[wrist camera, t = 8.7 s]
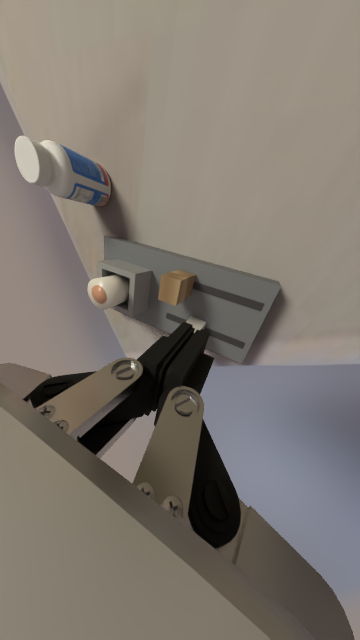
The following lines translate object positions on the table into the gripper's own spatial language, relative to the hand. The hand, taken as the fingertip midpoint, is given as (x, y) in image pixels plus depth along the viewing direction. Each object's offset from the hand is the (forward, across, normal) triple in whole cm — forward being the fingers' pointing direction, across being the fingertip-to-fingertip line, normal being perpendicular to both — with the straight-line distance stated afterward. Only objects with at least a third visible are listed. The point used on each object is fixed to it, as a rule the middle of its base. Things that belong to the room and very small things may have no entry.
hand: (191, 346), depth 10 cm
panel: (+16, +8, +3) cm, 19 cm away
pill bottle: (+17, +25, -9) cm, 31 cm away
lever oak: (+13, +6, 0) cm, 15 cm away
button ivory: (+11, +15, +3) cm, 18 cm away
